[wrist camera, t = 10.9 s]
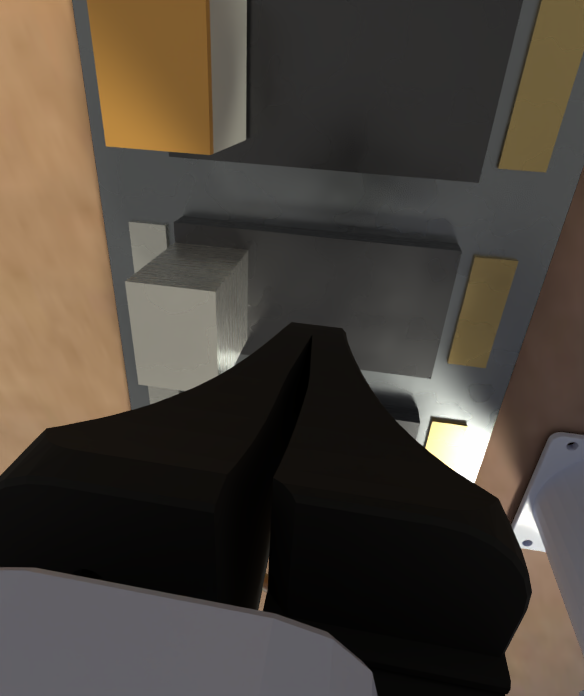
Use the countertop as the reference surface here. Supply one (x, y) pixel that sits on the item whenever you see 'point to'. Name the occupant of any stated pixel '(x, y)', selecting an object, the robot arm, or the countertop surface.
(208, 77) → the block
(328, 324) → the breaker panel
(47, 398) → the countertop surface
